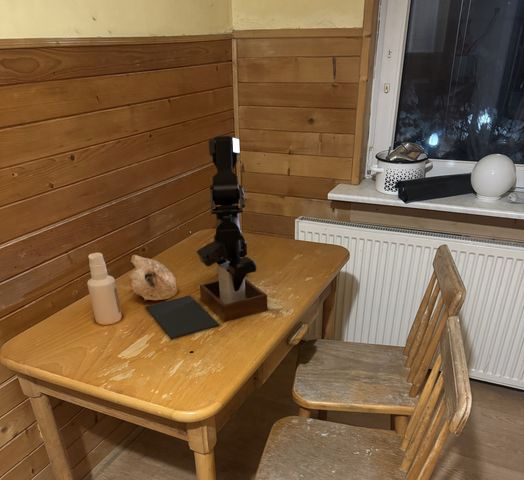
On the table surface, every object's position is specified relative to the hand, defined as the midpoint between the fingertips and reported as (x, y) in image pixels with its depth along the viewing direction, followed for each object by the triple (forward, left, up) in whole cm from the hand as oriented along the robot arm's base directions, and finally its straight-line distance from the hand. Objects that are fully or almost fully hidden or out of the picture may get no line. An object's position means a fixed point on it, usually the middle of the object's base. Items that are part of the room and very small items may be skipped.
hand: (232, 287), depth 137 cm
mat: (-1, -15, -5) cm, 16 cm away
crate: (0, 0, -5) cm, 5 cm away
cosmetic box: (0, 0, -5) cm, 5 cm away
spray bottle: (-10, -32, -5) cm, 34 cm away
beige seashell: (-19, -16, -5) cm, 26 cm away
